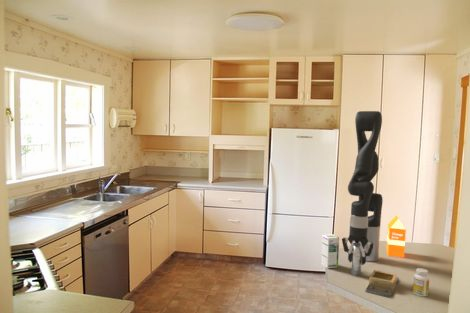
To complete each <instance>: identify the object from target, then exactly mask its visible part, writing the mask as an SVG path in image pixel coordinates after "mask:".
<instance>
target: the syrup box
mask: <svg viewBox="0 0 470 313" xmlns="http://www.w3.org/2000/svg"><path fill="white" fill-rule="evenodd" d="M339 250H340V236H337V235H336V234H333V233H332V234H322V235H321V263H320V264H321V265H322V266H323V267H324V268H325V269H328V270H329V269H337V268H339V256H340V255H339V253H340V252H339Z"/></svg>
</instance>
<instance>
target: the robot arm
mask: <svg viewBox="0 0 470 313" xmlns="http://www.w3.org/2000/svg"><path fill="white" fill-rule="evenodd" d="M354 123H355V132H356V140H357V156H356V159H355V164H354V170H353V171H354V172H353V173H352V174H353V175H352V177H351V178H350V180H349V183H348V184H347V191H348V193H349V195H350V196H355V197H358V200H354V201H352V203H351V204H350V206H351V207H350V208H351V210H350V218H349V232H348V237H343V238H341V241H342V247H343V251H344V252H345V253H347V254H348V256H347V260H348V262H349V263H352V253H353V247H354V244H353V242H358V243H360V245H361V246H360V250H361V252H362V264H361V266H364V265H365V264H366V263H367V262H377V261H379V255H380V254H379V253H380V238H381V222H382V221H381V220H382V208H383V201H384V200H383V196H382V194H380V193H376V192H375V193H374V191H375V188H374V187H375V186H374V184H373V182H372V180H373V179H374V178H375V177H376V175H377V174H378V172H379V155H378V153H377V152H376V148H377V146H378V141H379V137H380V134H381V133H380V132H381V129H382V125H383V124H382V123H383V115H382V113H381V112H380V111H379V110H377V111H376V110H366V111H358V112H356V115H355V122H354ZM366 132H371V134H370V137H369V138H367V135H366ZM369 212H371V213H373V214H371V215H369ZM348 242H349V244H350V247H349V246H348ZM362 243H363V244H362Z"/></svg>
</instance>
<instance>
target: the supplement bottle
mask: <svg viewBox="0 0 470 313" xmlns="http://www.w3.org/2000/svg"><path fill="white" fill-rule="evenodd" d="M428 272H429V271H428V269H426V268H421V267H418V268H416V271H415V273H414V274H413V288H412V289H413V290H412V293H413V294H414V295H416V296H419V297H428V296H429V288H430V276H429V275H428V274H429V273H428Z"/></svg>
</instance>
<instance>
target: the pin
mask: <svg viewBox="0 0 470 313" xmlns="http://www.w3.org/2000/svg"><path fill="white" fill-rule="evenodd" d="M353 244H354V247H353V251H352V262H351V274H350V275H352V276H354V277H361V276H362V252H361V250H360V246H361V245H360V243H358V242H353ZM362 244H363V243H362Z"/></svg>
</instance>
